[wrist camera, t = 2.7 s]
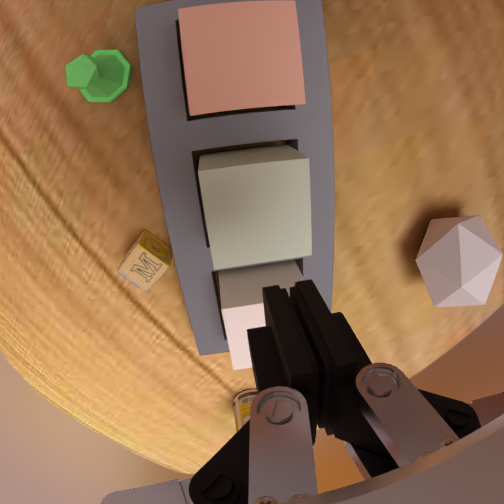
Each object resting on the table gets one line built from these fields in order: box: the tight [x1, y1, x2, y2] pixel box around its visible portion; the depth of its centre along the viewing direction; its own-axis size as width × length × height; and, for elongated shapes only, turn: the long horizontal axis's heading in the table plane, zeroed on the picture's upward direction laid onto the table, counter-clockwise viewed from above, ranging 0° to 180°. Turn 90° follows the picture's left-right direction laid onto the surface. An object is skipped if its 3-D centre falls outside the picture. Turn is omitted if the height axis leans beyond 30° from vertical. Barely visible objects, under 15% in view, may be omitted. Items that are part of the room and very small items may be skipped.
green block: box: [198, 145, 312, 270], centre depth 20 cm, size 6×6×5 cm
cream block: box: [218, 259, 304, 370], centre depth 25 cm, size 6×6×5 cm
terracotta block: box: [178, 0, 306, 116], centre depth 16 cm, size 6×6×5 cm
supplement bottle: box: [233, 389, 258, 432], centre depth 33 cm, size 5×5×8 cm
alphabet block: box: [118, 230, 173, 292], centre depth 25 cm, size 3×3×3 cm
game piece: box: [65, 50, 133, 102], centre depth 16 cm, size 4×4×6 cm
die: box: [415, 215, 503, 307], centre depth 26 cm, size 8×9×10 cm
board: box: [135, 0, 334, 355], centre depth 23 cm, size 28×12×3 cm, turn 6°
